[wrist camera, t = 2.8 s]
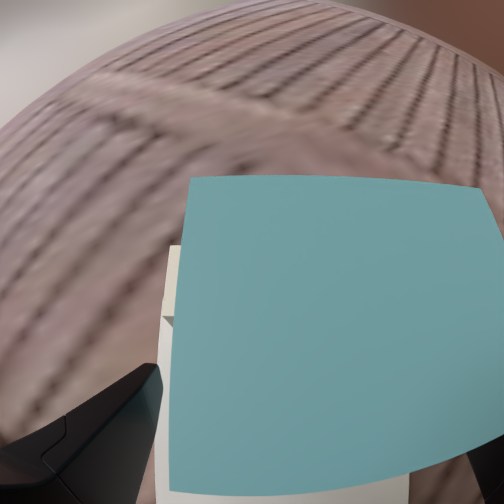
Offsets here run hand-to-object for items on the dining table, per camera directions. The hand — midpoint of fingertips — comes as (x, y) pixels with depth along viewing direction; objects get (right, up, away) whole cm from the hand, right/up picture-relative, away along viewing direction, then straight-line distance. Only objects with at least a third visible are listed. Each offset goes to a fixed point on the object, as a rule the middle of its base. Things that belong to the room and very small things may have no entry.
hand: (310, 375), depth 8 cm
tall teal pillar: (0, -4, +6) cm, 7 cm away
